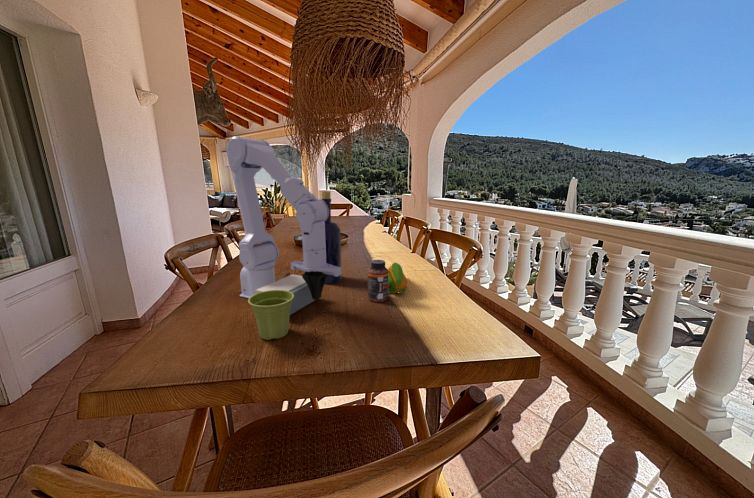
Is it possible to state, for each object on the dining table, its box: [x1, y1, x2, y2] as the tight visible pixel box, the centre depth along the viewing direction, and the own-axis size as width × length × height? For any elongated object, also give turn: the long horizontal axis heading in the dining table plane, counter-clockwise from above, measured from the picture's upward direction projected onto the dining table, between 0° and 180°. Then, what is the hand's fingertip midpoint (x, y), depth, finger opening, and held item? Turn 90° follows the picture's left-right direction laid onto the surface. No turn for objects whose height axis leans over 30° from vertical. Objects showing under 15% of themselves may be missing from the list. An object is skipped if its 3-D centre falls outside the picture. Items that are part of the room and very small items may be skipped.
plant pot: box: [247, 290, 294, 341], centre depth 65 cm, size 9×9×9 cm
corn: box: [387, 262, 408, 294], centre depth 95 cm, size 7×8×20 cm
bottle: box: [320, 190, 343, 285], centre depth 98 cm, size 9×9×30 cm
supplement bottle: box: [367, 259, 389, 303], centre depth 84 cm, size 6×6×11 cm
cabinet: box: [256, 274, 307, 294], centre depth 81 cm, size 8×14×6 cm, turn 156°
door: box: [290, 284, 316, 316], centre depth 78 cm, size 2×15×5 cm, turn 155°
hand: (316, 298), depth 78 cm, fingers closed
